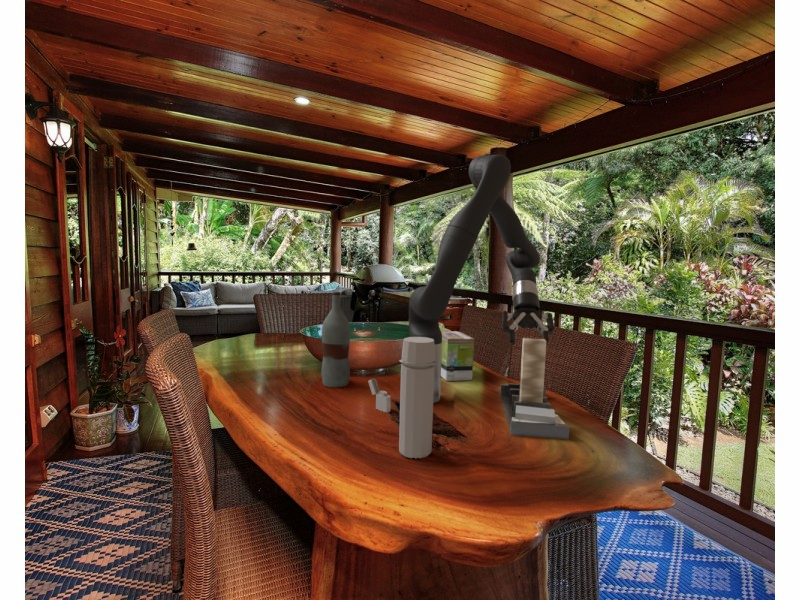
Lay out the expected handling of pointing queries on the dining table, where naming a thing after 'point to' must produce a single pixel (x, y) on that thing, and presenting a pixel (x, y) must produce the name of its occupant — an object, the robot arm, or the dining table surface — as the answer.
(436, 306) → the robot arm
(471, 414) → the dining table surface
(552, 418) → the offcut stack
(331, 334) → the vodka
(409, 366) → the water bottle
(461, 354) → the tea box
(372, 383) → the lighter
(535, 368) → the beige tall block
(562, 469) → the dining table surface
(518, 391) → the rack
